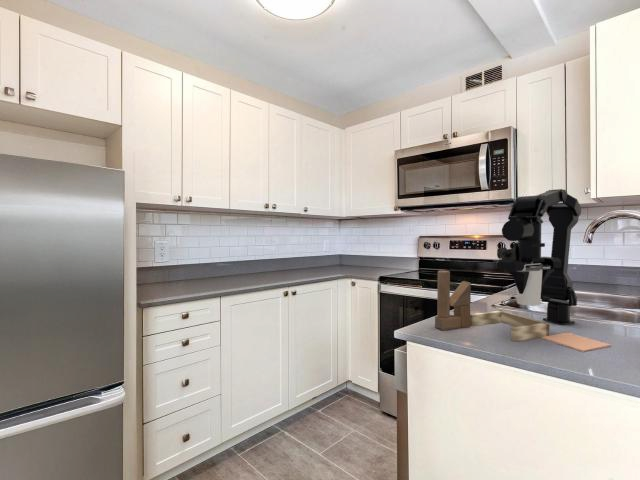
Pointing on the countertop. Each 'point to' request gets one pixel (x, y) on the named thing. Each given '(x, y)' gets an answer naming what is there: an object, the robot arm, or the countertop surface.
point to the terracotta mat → (576, 342)
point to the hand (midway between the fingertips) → (528, 293)
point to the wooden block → (452, 303)
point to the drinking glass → (531, 288)
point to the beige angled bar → (513, 324)
